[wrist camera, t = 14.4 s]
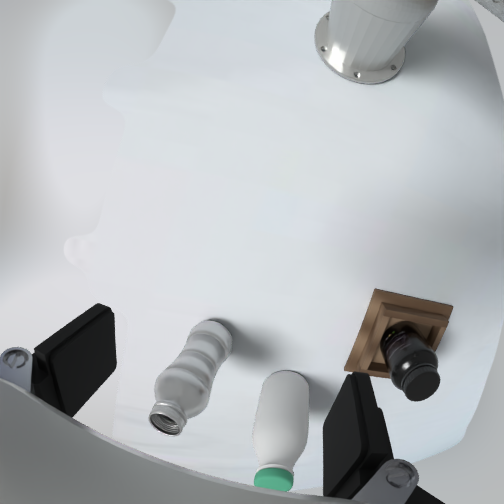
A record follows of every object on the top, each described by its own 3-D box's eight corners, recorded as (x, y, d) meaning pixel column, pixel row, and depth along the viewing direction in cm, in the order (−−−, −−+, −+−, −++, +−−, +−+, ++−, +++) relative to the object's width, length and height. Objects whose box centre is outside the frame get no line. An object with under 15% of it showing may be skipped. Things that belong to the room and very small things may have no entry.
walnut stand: (374, 288, 39) (379, 297, 36) (451, 305, 38) (460, 314, 35) (343, 368, 43) (345, 380, 40) (417, 378, 42) (422, 389, 39)
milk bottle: (256, 374, 46) (230, 472, 27) (302, 364, 44) (297, 467, 25) (270, 406, 47) (252, 501, 28) (313, 398, 46) (312, 496, 26)
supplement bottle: (427, 334, 39) (456, 380, 28) (396, 364, 41) (416, 415, 30) (401, 311, 39) (429, 355, 27) (369, 343, 41) (386, 395, 29)
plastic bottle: (215, 358, 46) (171, 450, 27) (186, 329, 46) (125, 412, 27) (244, 338, 44) (208, 435, 25) (213, 307, 44) (157, 392, 25)
